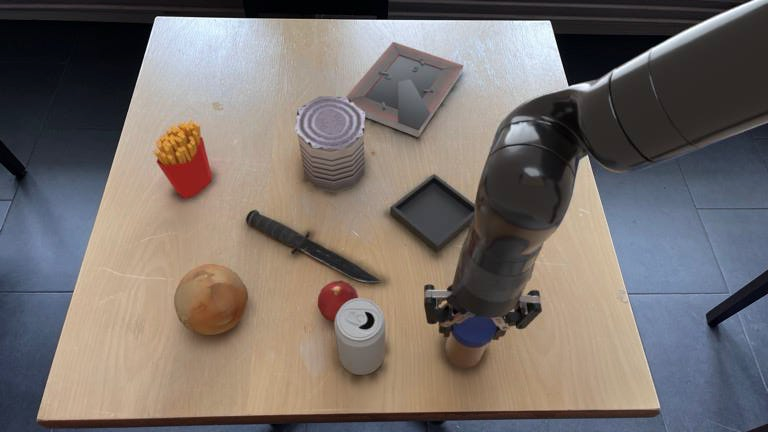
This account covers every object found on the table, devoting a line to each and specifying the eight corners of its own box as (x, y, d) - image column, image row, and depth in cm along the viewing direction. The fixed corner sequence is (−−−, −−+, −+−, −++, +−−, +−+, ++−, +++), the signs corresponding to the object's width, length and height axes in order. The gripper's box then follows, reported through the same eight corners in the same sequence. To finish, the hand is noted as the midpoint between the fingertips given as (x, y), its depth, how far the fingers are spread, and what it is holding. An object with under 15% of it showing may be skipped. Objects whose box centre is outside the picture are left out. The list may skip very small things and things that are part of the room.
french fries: (185, 204, 88) (162, 156, 79) (169, 193, 90) (144, 144, 80) (221, 173, 93) (203, 124, 83) (205, 163, 94) (186, 114, 84)
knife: (242, 225, 85) (245, 211, 84) (261, 217, 89) (264, 204, 88) (365, 299, 77) (371, 284, 76) (380, 287, 81) (385, 272, 80)
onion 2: (330, 290, 79) (326, 263, 73) (365, 302, 78) (364, 276, 72) (313, 322, 76) (307, 297, 70) (349, 336, 75) (347, 312, 68)
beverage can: (375, 383, 71) (376, 349, 61) (332, 368, 72) (325, 333, 62) (390, 341, 75) (392, 303, 65) (348, 327, 76) (344, 288, 66)
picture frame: (418, 139, 98) (462, 74, 110) (418, 129, 96) (463, 64, 108) (342, 110, 103) (392, 50, 114) (342, 100, 101) (393, 40, 112)
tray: (479, 216, 88) (481, 209, 86) (436, 253, 84) (437, 246, 82) (432, 180, 92) (434, 173, 91) (390, 214, 88) (390, 206, 86)
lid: (493, 306, 69) (496, 300, 67) (496, 349, 65) (499, 343, 64) (449, 304, 69) (451, 298, 67) (450, 346, 66) (451, 341, 64)
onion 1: (171, 330, 75) (146, 298, 67) (211, 275, 80) (193, 239, 72) (227, 357, 73) (209, 327, 65) (265, 299, 78) (253, 265, 70)
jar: (489, 350, 74) (502, 322, 66) (465, 375, 72) (476, 350, 64) (461, 325, 76) (471, 296, 68) (437, 349, 74) (444, 321, 66)
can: (365, 144, 97) (364, 94, 88) (367, 191, 91) (366, 143, 81) (303, 146, 97) (296, 96, 87) (301, 194, 90) (293, 145, 80)
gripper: (556, 242, 57) (521, 309, 71) (425, 235, 57) (416, 303, 71) (566, 304, 53) (527, 362, 66) (425, 296, 53) (414, 356, 67)
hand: (469, 331), depth 69 cm, fingers closed on lid, 5 cm apart
